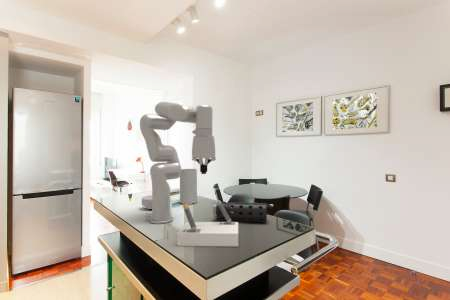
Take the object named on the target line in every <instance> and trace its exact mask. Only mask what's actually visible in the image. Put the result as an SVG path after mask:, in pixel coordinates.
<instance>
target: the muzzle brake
mask: <svg viewBox="0 0 450 300" xmlns="http://www.w3.org/2000/svg"><path fill="white" fill-rule="evenodd" d="M216 202H217V201H216ZM216 202H214V203H213V209H212V216H213V218H214V219H217V220H225V222H227V220H226V218H225V217H224V215H223V213H222V212H221V210H220V208H219V206H218V205H217V203H216ZM220 202H221V203H222V205H223V207H224V208H225V210H226V212H227V214H228V215H229V217H230V218H231V222H233V221H243V222H250V223H251V222H252V223H266V222H267V220H268V206H267V205H268V204H267V203H266V202H260V203H259V202H235V201H233V202H231V201H229V202H227V201H221V200H220Z"/></svg>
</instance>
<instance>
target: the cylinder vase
mask: <svg viewBox="0 0 450 300" xmlns="http://www.w3.org/2000/svg"><path fill="white" fill-rule="evenodd" d="M197 173H198V170H197V168H181V176H180V177H179V203H180V204H181V203H182V204H181V205H184V204H187V203H188V204H190V205H193V204H192V203H195V204H197V203H198V174H197ZM196 202H197V203H196Z"/></svg>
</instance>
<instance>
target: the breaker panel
mask: <svg viewBox="0 0 450 300" xmlns="http://www.w3.org/2000/svg"><path fill="white" fill-rule="evenodd" d="M194 222H195V225H196V226H197V227H196V229H195V231H191V227H190V224H189V222H188V221H186V222H185V223H184V224H183V225H182V227H181V228H180V229H179V231H178V232H177V234H176V235H177V236H176V237H177V240H176V241H177V247H239V222H238V221H231V223H230V224H228V223H227V221H194Z"/></svg>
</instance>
